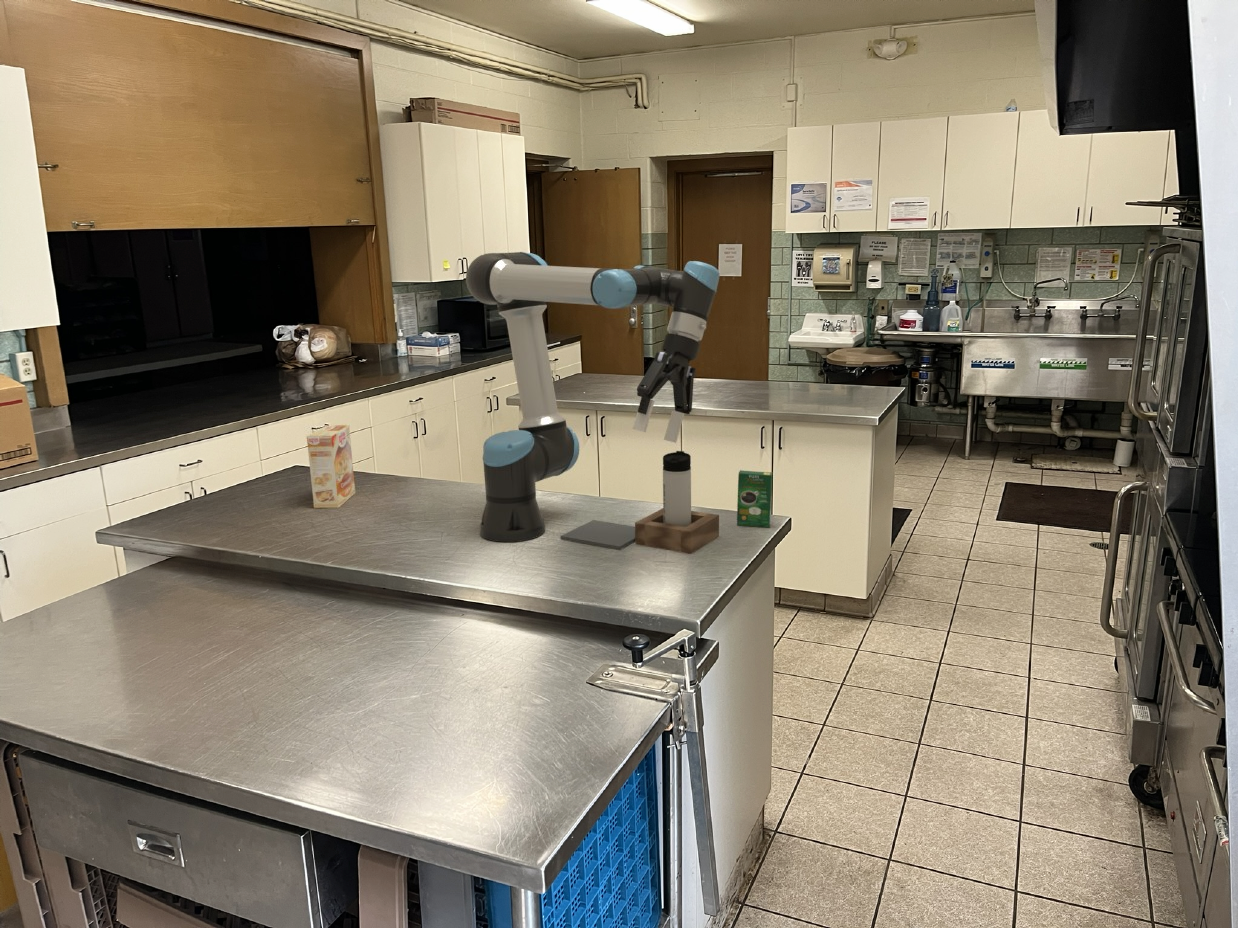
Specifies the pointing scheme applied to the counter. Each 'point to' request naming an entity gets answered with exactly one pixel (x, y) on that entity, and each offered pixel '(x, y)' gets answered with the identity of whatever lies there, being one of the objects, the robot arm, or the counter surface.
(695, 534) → the holder
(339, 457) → the coffeecake box
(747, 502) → the coffee box
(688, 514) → the travel mug
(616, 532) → the mat
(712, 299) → the robot arm
